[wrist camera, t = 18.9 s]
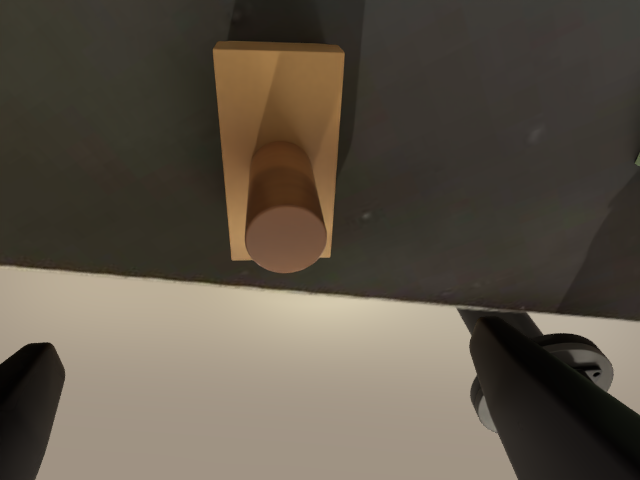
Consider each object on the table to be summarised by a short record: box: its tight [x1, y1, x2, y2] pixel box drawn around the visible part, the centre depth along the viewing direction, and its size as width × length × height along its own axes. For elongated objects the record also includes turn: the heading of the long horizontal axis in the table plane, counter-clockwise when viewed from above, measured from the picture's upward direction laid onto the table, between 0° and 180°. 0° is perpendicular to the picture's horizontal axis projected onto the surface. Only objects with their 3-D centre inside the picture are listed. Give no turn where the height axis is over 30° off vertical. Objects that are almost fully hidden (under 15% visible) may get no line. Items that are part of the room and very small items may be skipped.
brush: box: [213, 41, 345, 273], centre depth 15 cm, size 9×4×8 cm, turn 177°
